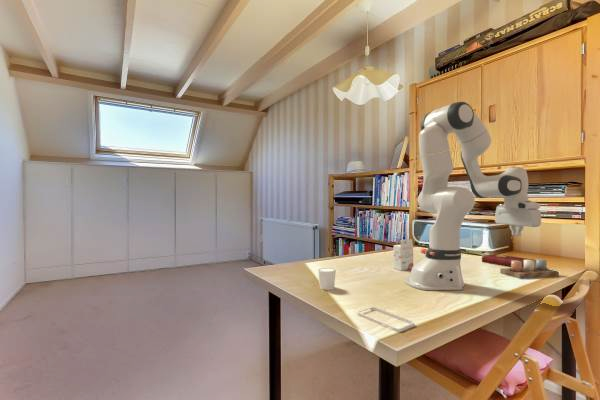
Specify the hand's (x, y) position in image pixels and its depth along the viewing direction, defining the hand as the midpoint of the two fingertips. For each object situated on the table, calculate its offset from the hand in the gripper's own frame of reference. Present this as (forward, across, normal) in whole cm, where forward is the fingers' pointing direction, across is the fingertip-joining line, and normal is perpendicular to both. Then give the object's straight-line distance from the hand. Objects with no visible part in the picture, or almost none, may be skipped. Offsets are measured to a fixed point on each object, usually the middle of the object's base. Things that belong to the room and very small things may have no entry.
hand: (516, 235), depth 133 cm
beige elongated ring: (+18, +34, -79) cm, 88 cm away
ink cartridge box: (+18, -22, -42) cm, 51 cm away
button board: (+18, 0, +6) cm, 19 cm away
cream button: (+16, 0, +6) cm, 17 cm away
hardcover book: (+18, -19, +15) cm, 31 cm away
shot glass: (+18, +1, -87) cm, 89 cm away
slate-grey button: (+16, 0, +13) cm, 20 cm away
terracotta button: (+16, 0, 0) cm, 16 cm away
